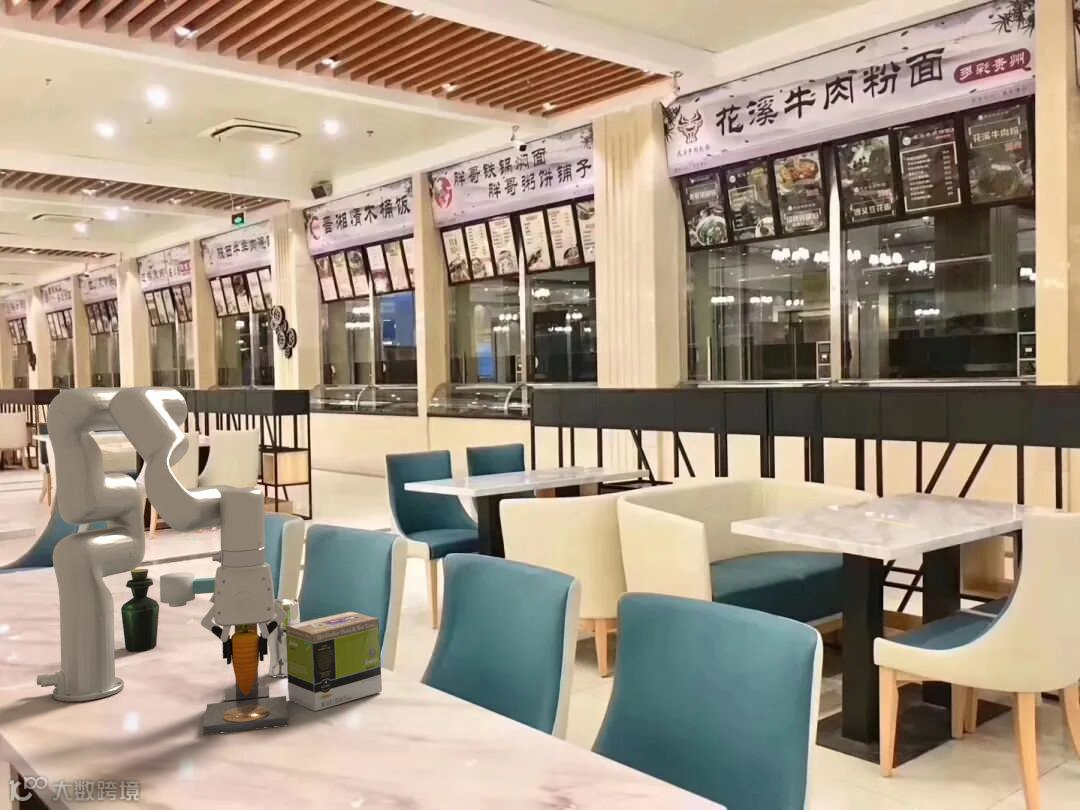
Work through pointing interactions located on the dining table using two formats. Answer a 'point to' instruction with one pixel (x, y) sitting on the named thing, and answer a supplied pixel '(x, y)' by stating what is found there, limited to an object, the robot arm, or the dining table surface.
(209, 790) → the dining table surface
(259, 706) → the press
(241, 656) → the carrot
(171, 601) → the press arm
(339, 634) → the tea box
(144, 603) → the potion bottle
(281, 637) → the beer glass
